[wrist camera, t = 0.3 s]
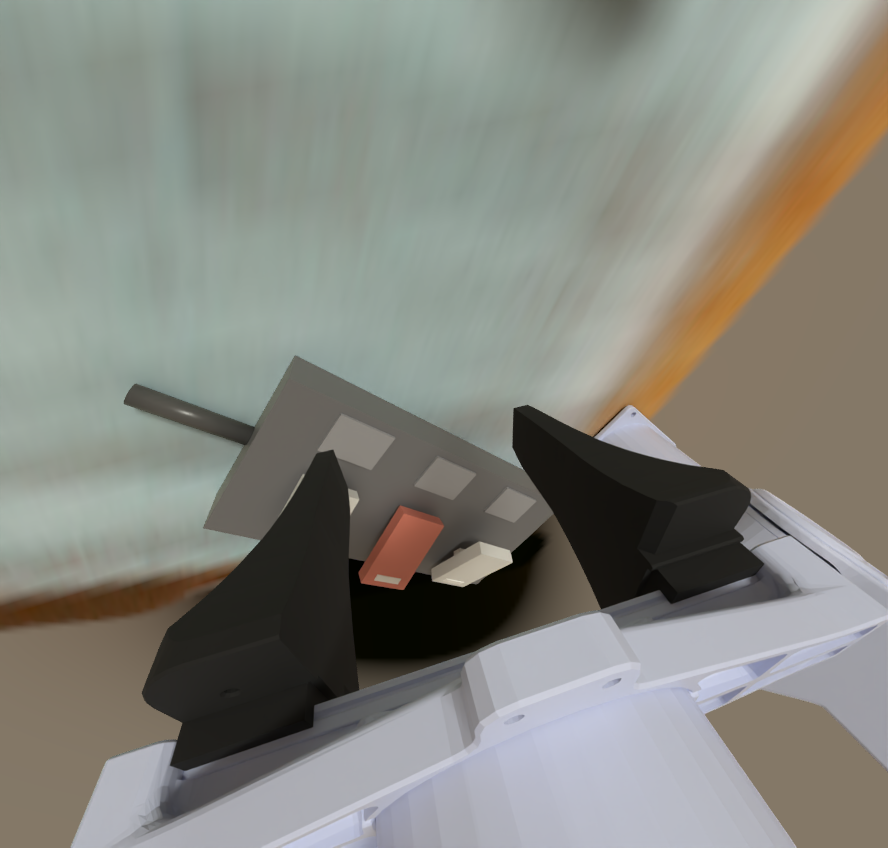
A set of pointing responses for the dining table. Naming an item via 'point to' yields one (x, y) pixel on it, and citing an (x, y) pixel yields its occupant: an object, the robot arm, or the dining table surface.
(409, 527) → the rocker middle
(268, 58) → the dining table surface
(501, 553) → the rocker
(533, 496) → the power strip
